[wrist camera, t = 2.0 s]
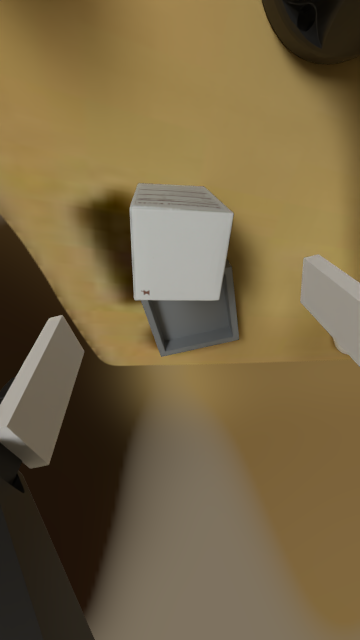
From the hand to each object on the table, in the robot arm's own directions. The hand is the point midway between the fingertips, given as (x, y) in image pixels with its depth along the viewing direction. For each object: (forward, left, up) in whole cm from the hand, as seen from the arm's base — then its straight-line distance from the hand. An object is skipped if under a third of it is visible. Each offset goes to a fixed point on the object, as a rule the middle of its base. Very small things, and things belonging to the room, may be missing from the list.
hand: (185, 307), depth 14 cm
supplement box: (0, 0, -19) cm, 19 cm away
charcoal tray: (0, +12, -19) cm, 22 cm away
